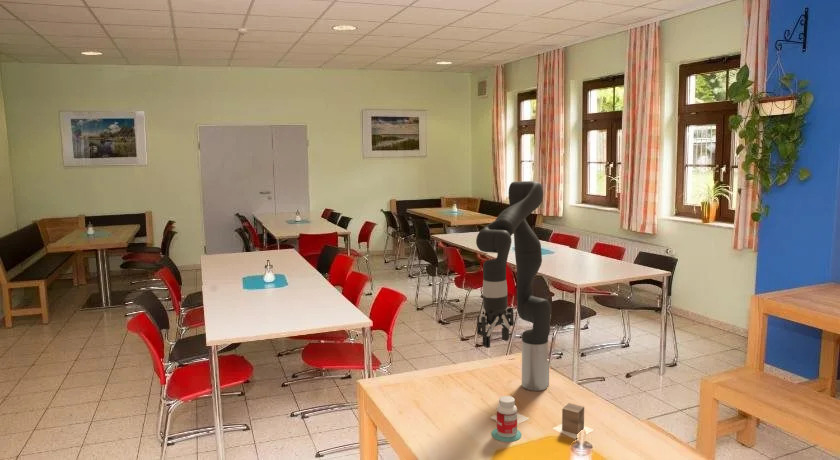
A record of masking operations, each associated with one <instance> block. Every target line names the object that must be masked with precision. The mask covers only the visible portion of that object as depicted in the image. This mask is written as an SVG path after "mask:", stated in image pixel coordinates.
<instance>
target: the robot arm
mask: <svg viewBox="0 0 840 460" xmlns="http://www.w3.org/2000/svg"><path fill="white" fill-rule="evenodd" d="M507 193H508V203H509V206H508V207H506V208H505V209H504V210H502V211H501V212H499V214H498V216H497V217H496V218H495V219H494V221H492V222H490V223H488V224H487V225H486V226H484V227H482V228H481V229H480V231H479V232H478V233H477V235H476V239H475V240H476V241H475V245H476V247H477V248H478V249H479V250H480V252H483V253H495V254H497V256H496V257H495V258H491V259H486V260H485V261H484V262H483V263H482V264H483V265H482V275H483V276H482V277H483V281H482V306H483V309H484V312H485V313H484V314H483V315H481V314H479V315H477V318H476V319H477V320H476V321H477V322H476V334H477V335H480V336H482V346H483V347H484V348H488V349H489V348H491V336H490V335H491V333H492V331H493V330H494V328H495V327H498V326H501V339H502V340H503V341H505V342H507V341H509V340H510V339H509V337H510V328H511V327H513V326H514V324H515V321H514V320H515V318H514V308H513V307H510V306H508V304H509V303H508V284H507V283H508V282H507V262H508V258H509V254H510V251H511V246H512V242H514V243H513V245H514V257H515V267H516V280H517V282H516V283H517V285H516V286H517V287H516V288H517V290H516V295H517V296H516V306H517V307H516V309H517V310H516V311H517V314H518V316H519V318H520V319H521V320H522V321H525V322H529V323H532V328H531V329H526V330H524V331H523V332H522V334H521V387H522V388H523V389H526V390H528V391H534V392H537V391H538V392H540V391H544V390H546V389H547V388H548V386H550V360H549V359H548V357H549V356H548V353H549V352H548V351H549V336H550V333H551V331H550V330H551V319H552V307H551V304H550V302H549V300H548V299H546V298H543V297H537V296H534V291H533V284H534V283H533V282H534V280H535V277H536V276H537V274H538V272H539V270H540V268H541V266H542V262H543V254H542V244H541V241H540V239H539V237H538V236H537V234H536V233H535V232H534V231H533V229H532V227H531V226H530V225H529V223H528V221H527V217H529V215H531V214H532V213H533V212H534V211H535V210H536V209H538V208H539V206H541V204H542V202H543V198H544V189H543V185H542V184H541V183H540V182H538V181H535V180H534V181H533V180H530V181H529V180H525V181H523V180H522V181H521V180H519V181H513V182H511V183H510V185H509V187H508V192H507ZM512 235H513V241H512Z"/></svg>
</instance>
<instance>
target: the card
mask: <svg viewBox="0 0 840 460" xmlns="http://www.w3.org/2000/svg"><path fill="white" fill-rule="evenodd" d="M552 430H554V431H556V432H557V433H558V432H559V433H560V434H563V435H565V436H568V437H569V438H572V439H573V440H577V439H576V438H577V434H574V433H570V432H567V431H563V430H562V423H560V424H558V425H556V426H555V427H552ZM583 430H585V431H586V435H587V434H589V433H592V432H593V431H594V429H593V428H591V427H589V426H586V425H584V429H583Z"/></svg>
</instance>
